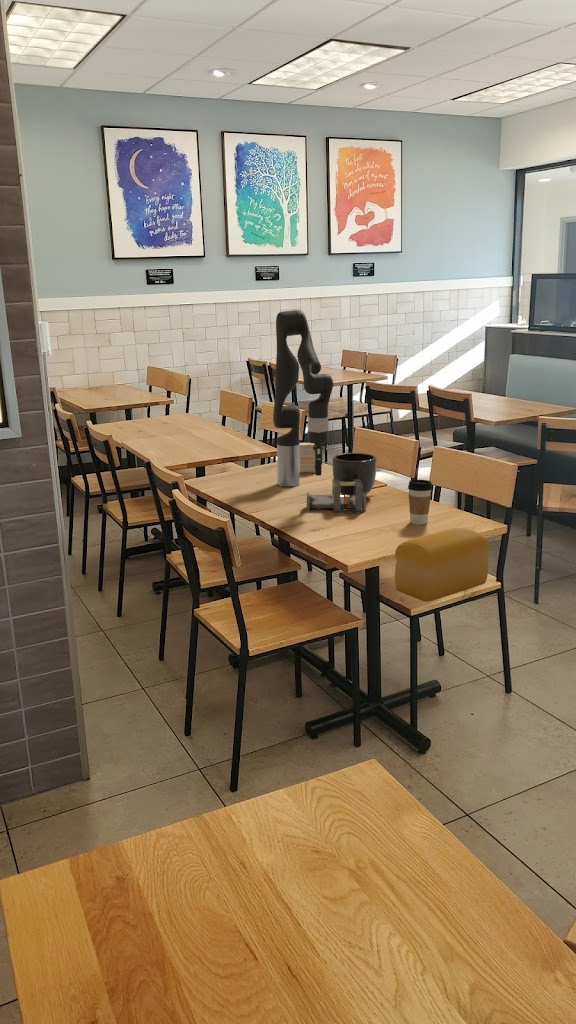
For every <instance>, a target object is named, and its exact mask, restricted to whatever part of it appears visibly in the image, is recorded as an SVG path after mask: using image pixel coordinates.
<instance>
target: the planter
mask: <svg viewBox="0 0 576 1024" xmlns="http://www.w3.org/2000/svg"><path fill="white" fill-rule="evenodd" d="M377 461H378V460H377V455H374V454H369V453H364V452H363V453H361V452H348V453H347V452H345V453H344V452H343V453H338V454H335V455H333V456H332V479H339V482H354V479H360V480H361V483H362V486H363V492H365V493H366V495H368V494H369V493H370V492H371V491H372V489H373V488H374V485H375V482H376V476H377ZM341 495H353V486H341Z"/></svg>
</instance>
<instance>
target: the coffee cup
mask: <svg viewBox="0 0 576 1024" xmlns="http://www.w3.org/2000/svg"><path fill="white" fill-rule="evenodd" d="M407 489H408V503H409V504H408V506H409V521H410V523H411V524H412V525H417V526H418V525H419V526H421V525H422V526H423V525H426V524H428V521H429V520H428V519H429V512H430V506H431V505H430V504H431V499H432V497H431V496H432V494H431V493H432V490H433V483H432V481H431V480H427V479H411V480H409V481H408V485H407Z"/></svg>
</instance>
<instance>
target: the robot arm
mask: <svg viewBox="0 0 576 1024" xmlns="http://www.w3.org/2000/svg"><path fill="white" fill-rule="evenodd" d="M275 333H276V334H275V335H276V336H275V337H276V357H275V358H276V360H275V361H276V362H275V375H274V378H275V381H274V382H275V388H274V389H275V395H274V405H273V415H272V418H273V419H272V420H273V422H272V423H273V425H274V427H275V428H276V429H290V431H288V432H286V433H285V434H283V435H280V436H278V437H277V439H276V446H277V447H276V450H277V453H276V457H277V459H276V460H277V461H276V462H277V469H276V470H277V486H279V485H281V486H280V487H283V486H293V487H297V485H298V486H300V463H299V444H300V423H301V421H300V420H301V412H300V408H299V406H298V405H284V403H285V401H286V399H287V397H288V396H289V395H290V393H291V392H293V390H294V388H295V387H296V386H297V384H298V381H299V376H300V375H299V373H300V369H301V371H302V377H303V390H304V391H305V392H306V393H307V394H309V395H319V397H318V398H316V399H313V400H311V401H309V402H308V421H307V443H314V446H313V456H314V460H315V473H314V474H315V476H322V468H323V467H322V466H323V460H324V446H322V444H327V443H328V442H329V410H328V409H329V402H330V398H331V395H332V392H333V388H334V381H333V378H332V376H331V374H328V373H320V372H321V371H322V365H321V362H320V361H319V357H318V355H317V352H316V351H315V348H314V347H315V346H314V344H313V340H312V335H311V331H310V327H309V324H308V319H307V316H306V314H305V312H303V311H302V310H301V309H294V310H285V311H279V312H278V313H277V315H276V318H275ZM299 335H300V336H301V341H300V344H299V347H298V349H297V353H296V354H297V355H296V356H297V357H296V356H295V355H294V353H293V351H292V350H291V349H290V347H289V345H288V342H287V341H288V340H287V339H288V338H287V337H291V336H292V337H293V336H299Z"/></svg>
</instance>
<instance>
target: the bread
mask: <svg viewBox="0 0 576 1024" xmlns="http://www.w3.org/2000/svg"><path fill="white" fill-rule="evenodd" d="M490 545H491V544H490V543H489V540H488V539H487V538H486V537H485V536H483V535H482V534H481V533H479V532H476V531H474V530H473V529H471V528H461V527H454V528H453V527H452V528H450V529H445V530H442V531H437V532H434V533H431V534H430V533H429V534H426V535H423V536H419V537H416V538H411V539H408V540H406V541H403V542H402V543H400V544H399V545H397V548H396V549H395V552H394V553H395V554H394V555H395V560H396V563H395V568H394V569H395V570H394V586H395V590H396V591H397V592H400V593H402V594H405V595H407V596H409V597H412V598H414V599H417V600H420V601H422V602H426V603H429V602H433V601H437V600H440V599H442V598H446V597H449V596H452V595H454V594H459V593H461V592H464V591H466V590H470V589H473V588H476V587H479V586H482V585H484V584H486V582H487V580H488V575H489V556H488V555H489V554H490V550H491V549H490V547H491V546H490Z"/></svg>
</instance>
